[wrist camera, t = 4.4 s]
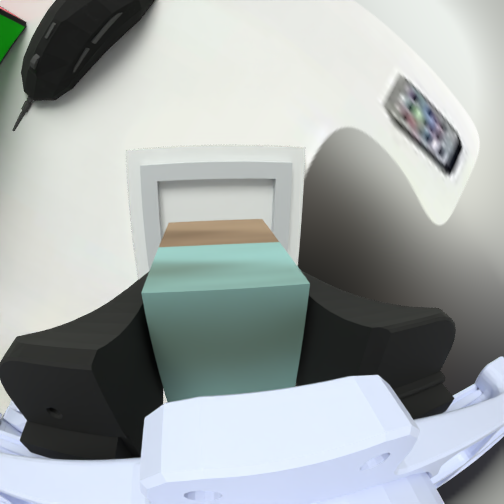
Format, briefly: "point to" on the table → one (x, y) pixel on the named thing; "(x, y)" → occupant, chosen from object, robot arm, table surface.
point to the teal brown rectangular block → (224, 309)
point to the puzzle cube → (9, 30)
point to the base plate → (213, 191)
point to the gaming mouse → (73, 43)
